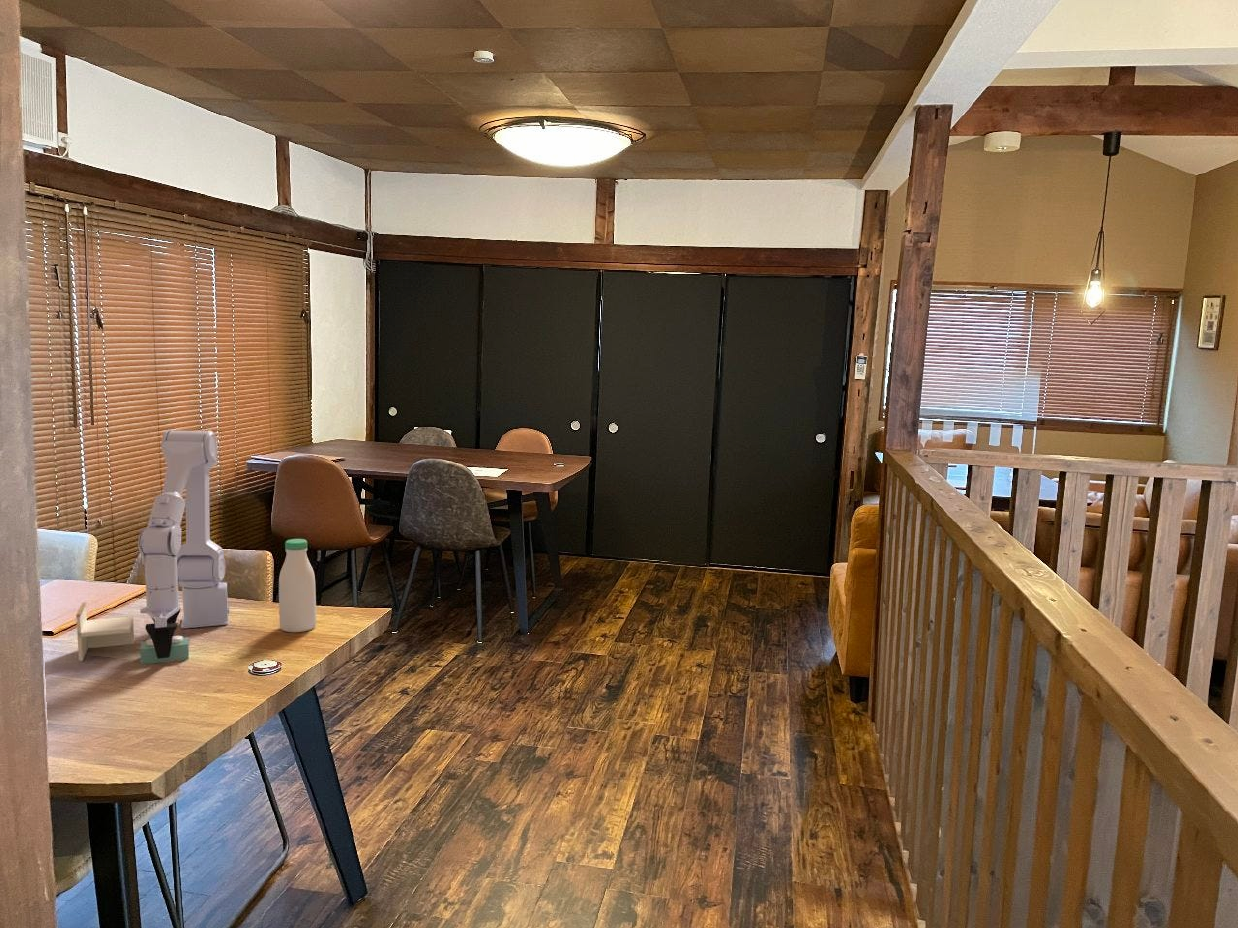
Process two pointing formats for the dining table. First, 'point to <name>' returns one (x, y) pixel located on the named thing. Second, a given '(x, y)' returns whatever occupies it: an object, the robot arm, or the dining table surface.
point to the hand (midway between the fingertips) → (165, 650)
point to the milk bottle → (297, 589)
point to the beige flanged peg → (102, 632)
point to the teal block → (177, 652)
